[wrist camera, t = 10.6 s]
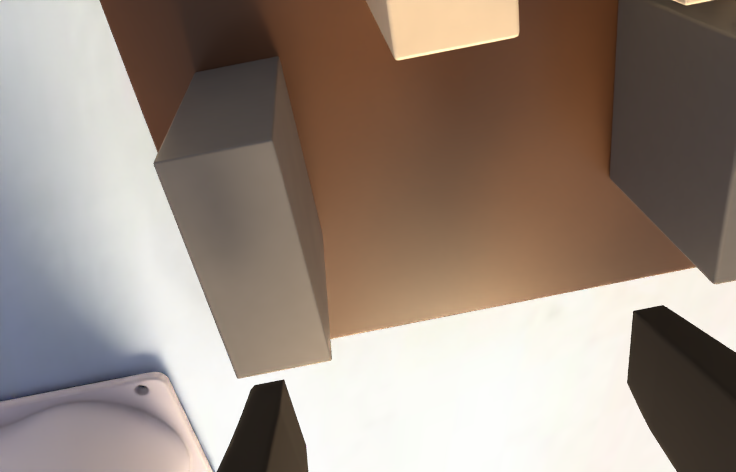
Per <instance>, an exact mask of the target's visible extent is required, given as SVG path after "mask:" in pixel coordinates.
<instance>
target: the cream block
mask: <svg viewBox="0 0 736 472" xmlns="http://www.w3.org/2000/svg"><path fill="white" fill-rule="evenodd" d="M673 1H676V2H678V3H681V4H683V5H691V4H696V3H701V2H706V1H711V0H673Z"/></svg>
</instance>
